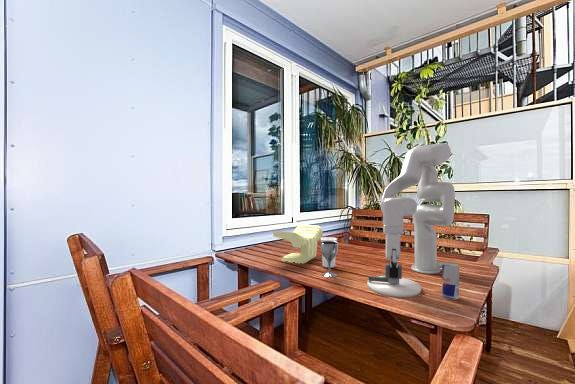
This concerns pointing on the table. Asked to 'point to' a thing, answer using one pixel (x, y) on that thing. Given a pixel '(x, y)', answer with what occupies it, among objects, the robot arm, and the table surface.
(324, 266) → the cup
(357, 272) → the table surface
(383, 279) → the tuning knob
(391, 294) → the tuner dial
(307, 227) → the slatted curved stool
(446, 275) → the energy drink
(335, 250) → the wine glass
